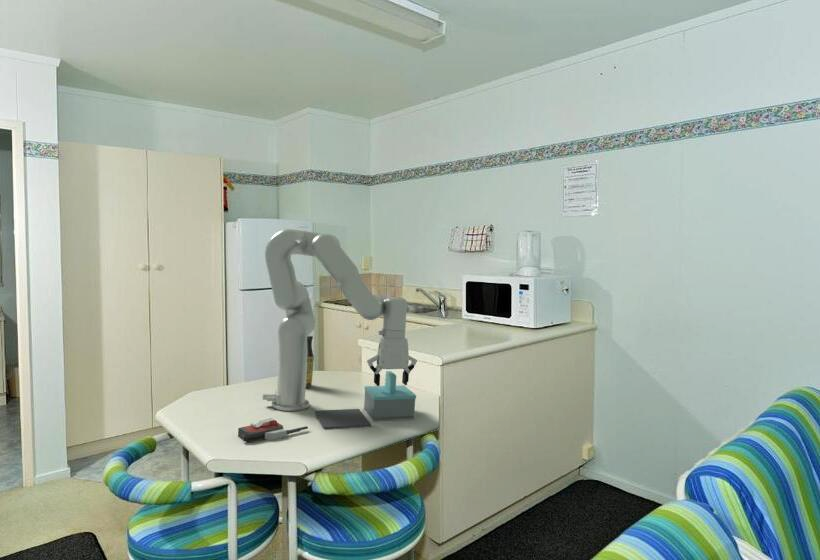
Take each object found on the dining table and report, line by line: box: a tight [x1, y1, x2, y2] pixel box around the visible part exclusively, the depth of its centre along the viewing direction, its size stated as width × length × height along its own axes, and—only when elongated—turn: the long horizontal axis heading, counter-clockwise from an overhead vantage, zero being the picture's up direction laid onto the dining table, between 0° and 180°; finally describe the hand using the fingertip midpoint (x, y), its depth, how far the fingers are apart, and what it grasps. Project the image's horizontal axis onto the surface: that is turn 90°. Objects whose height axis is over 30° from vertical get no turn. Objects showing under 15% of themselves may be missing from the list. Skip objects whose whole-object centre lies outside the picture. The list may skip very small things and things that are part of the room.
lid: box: [364, 370, 417, 400], centre depth 181 cm, size 14×12×8 cm
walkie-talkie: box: [237, 417, 309, 443], centre depth 156 cm, size 9×4×20 cm
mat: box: [314, 408, 372, 430], centre depth 173 cm, size 15×16×1 cm
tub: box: [363, 389, 416, 422], centre depth 182 cm, size 14×12×7 cm
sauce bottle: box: [306, 334, 315, 388], centre depth 208 cm, size 6×6×20 cm
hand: (391, 384), depth 181 cm, fingers open, 9 cm apart
